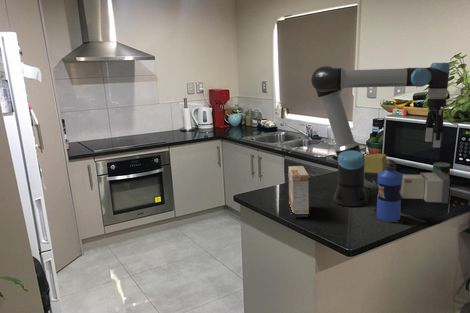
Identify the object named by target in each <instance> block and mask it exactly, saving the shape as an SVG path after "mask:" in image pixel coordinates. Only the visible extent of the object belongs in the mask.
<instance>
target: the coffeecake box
mask: <svg viewBox="0 0 470 313" xmlns="http://www.w3.org/2000/svg"><path fill="white" fill-rule="evenodd" d="M309 187H310V186H309V174H308V172H307V171H306V169H305V167H304V165H293V166H291V165H290V166H288V204H290V207H291V210H292V212H293V213H295V214H309V215H310V213H309V212H310V205H309V203H310V202H309V200H310V199H309V193H310V192H309Z"/></svg>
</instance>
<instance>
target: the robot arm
mask: <svg viewBox="0 0 470 313" xmlns="http://www.w3.org/2000/svg"><path fill="white" fill-rule="evenodd" d="M450 65H451V64H450V63H449V62H431V64H430V66H429V67H405V68H404V67H403V68H381V69H350V70H347V69H344V68H340V67H339V68H337V67H332V66H329V65H325V66H321V67H318V68H317V69H316V70H314V72H313V73H312V75H311V81H310V82H311V85H312V87H313V88H314V89H315V91H316V94H317V98H318V99H320V100H321V101H322V102H323V106H324V110H325V112H326V114H327V118H328V121H329V125H330V128H331V131H332V135H333V138H334V141H335V144H336V147H335V148H334V152H335V155H336V158H337V186H336V190H335V193H334V195H333V201H334V200H335V201H336V202H337V203H340V204H343V205H347V206H359V207H363V206H362V205H364V206H365V204H366V205H367V204H368V195H367V192H366V189H365V170H364V163H365V154H364V153H363V152H362V150H361V147H360V144H359V142H357V141H356V140H355V138H354V136H353V132H352V129H351V126H350V123H349V120H348V119H349V118H348V116H347V113H346V110H345V107H344V106H345V105H344V103H343V100H342V96H341V93H342V91H343V89H349V88H352V89H354V88H391V87H392V88H393V87H396V88H397V87H417V88H421V87H425V86H426V85H428V88H427V97H428V98H427V99H426V100H427V102H426V107H428V113H427V116H426V121H425V123H424V124H425V128H426V129H425V138H424V141H425V142H431V143H432V142H433V143H432V148H441V142H442V141H441V140H442V134H443V133H444V131H445V130H444V110H442V109H441V108H445V107H446V105H447V95H448V93H449V89H448V88H449V87H448V85H449V78H450V70H451V69H450V67H451V66H450ZM347 206H346V207H347Z"/></svg>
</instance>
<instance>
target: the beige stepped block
mask: <svg viewBox="0 0 470 313" xmlns="http://www.w3.org/2000/svg"><path fill="white" fill-rule="evenodd" d="M419 173H420V174H419V175H422V176H423V177H424V178H425V182H424V197H423V200H424V201H425V202H426V203H441V204H449V198H450V185H451V183H450V182H451V179H450V178H448V177H447V176H446V175H445V174H444V173H443V172H441V171H440V170H434V173H433V172H419Z"/></svg>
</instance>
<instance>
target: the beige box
mask: <svg viewBox="0 0 470 313" xmlns="http://www.w3.org/2000/svg"><path fill="white" fill-rule="evenodd" d="M402 175H403V180H402V185H401V191H400V195H401V199H410V200H411V199H413V200H416V199H418V200H424V198H423V197H424V182H425V178H424V177H423V176H422V175H420V174H402Z"/></svg>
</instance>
